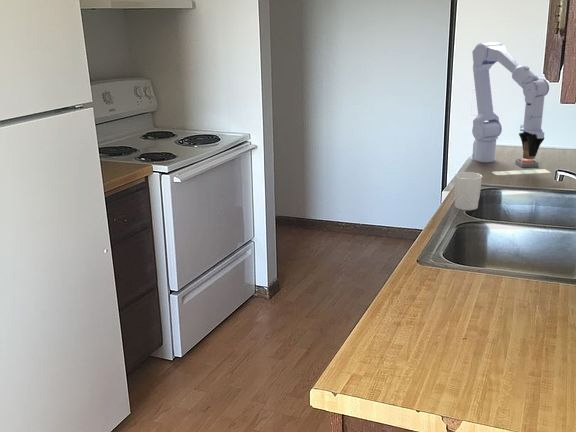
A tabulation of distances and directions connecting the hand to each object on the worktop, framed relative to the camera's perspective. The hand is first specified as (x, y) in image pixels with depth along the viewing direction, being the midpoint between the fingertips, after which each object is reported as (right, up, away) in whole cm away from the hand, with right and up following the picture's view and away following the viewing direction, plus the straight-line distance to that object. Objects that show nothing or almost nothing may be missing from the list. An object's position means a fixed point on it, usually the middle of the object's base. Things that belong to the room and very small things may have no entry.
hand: (529, 154), depth 216 cm
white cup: (-30, -19, -28) cm, 46 cm away
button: (+3, -3, +11) cm, 12 cm away
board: (-2, -7, +2) cm, 8 cm away
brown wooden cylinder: (0, -1, 0) cm, 1 cm away
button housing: (+3, -4, +11) cm, 12 cm away
